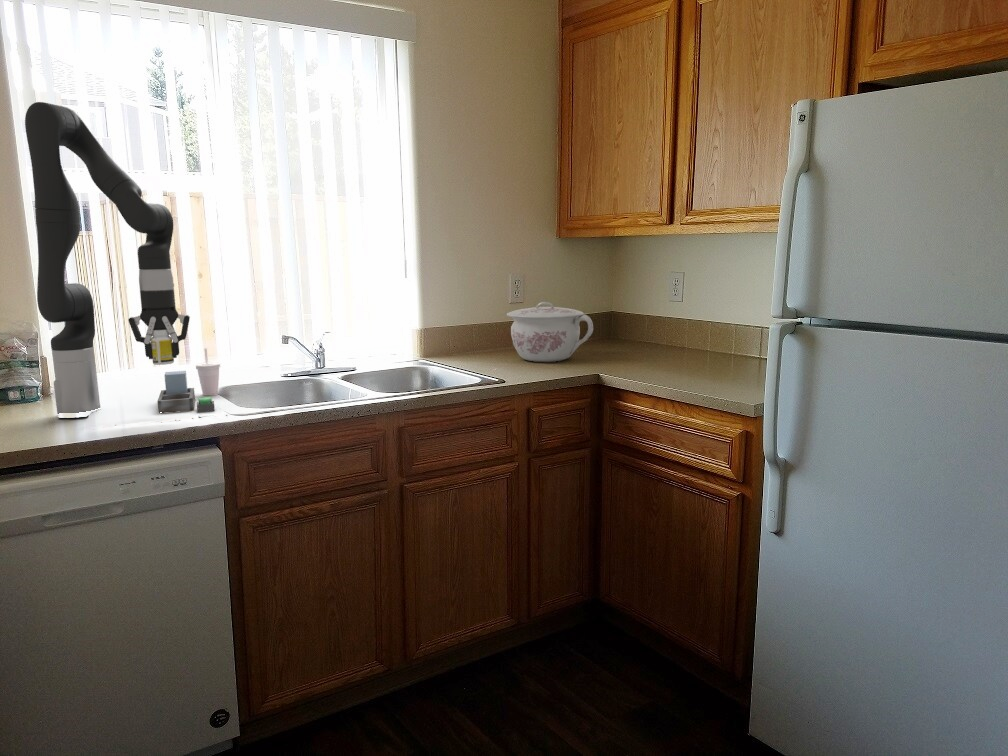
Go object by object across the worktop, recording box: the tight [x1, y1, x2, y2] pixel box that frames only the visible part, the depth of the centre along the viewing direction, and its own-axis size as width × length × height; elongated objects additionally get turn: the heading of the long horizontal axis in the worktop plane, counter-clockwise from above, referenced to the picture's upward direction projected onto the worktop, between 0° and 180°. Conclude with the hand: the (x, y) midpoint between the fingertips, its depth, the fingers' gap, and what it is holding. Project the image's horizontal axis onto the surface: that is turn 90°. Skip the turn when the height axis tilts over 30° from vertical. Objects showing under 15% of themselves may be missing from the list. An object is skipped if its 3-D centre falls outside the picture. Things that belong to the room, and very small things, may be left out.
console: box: [196, 400, 216, 413], centre depth 191 cm, size 4×4×3 cm
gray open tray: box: [157, 387, 196, 414], centre depth 197 cm, size 8×17×4 cm, turn 21°
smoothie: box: [195, 347, 221, 396], centre depth 211 cm, size 6×6×14 cm
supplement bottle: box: [150, 330, 175, 366], centre depth 185 cm, size 5×5×8 cm
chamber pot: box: [506, 301, 594, 363], centre depth 269 cm, size 28×28×21 cm
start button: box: [197, 396, 213, 405], centre depth 191 cm, size 3×3×4 cm
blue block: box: [164, 370, 189, 394], centre depth 200 cm, size 5×5×8 cm
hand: (163, 357), depth 186 cm, fingers closed on supplement bottle, 4 cm apart
